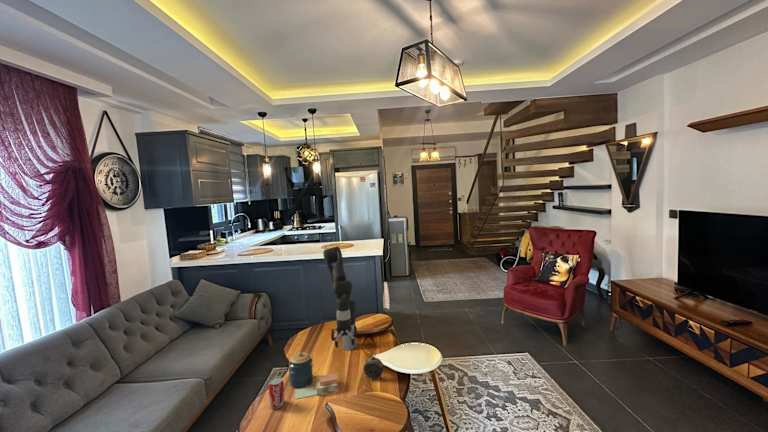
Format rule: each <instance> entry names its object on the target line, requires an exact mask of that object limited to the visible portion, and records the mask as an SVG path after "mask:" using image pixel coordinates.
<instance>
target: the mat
mask: <svg viewBox="0 0 768 432" xmlns="http://www.w3.org/2000/svg"><path fill="white" fill-rule="evenodd" d="M294 396H295V400H299V399H305V398H309V397H313V396H317V391H316V385H313V386H306V387H302V388H296V389H294Z"/></svg>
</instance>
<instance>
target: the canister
mask: <svg viewBox="0 0 768 432" xmlns="http://www.w3.org/2000/svg"><path fill="white" fill-rule="evenodd" d="M312 362H313V358H312V356H311V354H310V353H308V352H305V351H302V350H301V351H298V352H296V353H294V354H293V355H292V356H291V357H290V358H289V361H288V366H289V368H288V372H289V374H288V375H289V384H290V385H289V386H291V387H292V388H294V389H295V388H296V389H302V388H307V387H309V385H311V383H312V382H313V380H314V375H313V363H312Z"/></svg>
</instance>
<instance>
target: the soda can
mask: <svg viewBox="0 0 768 432" xmlns="http://www.w3.org/2000/svg"><path fill="white" fill-rule="evenodd" d="M284 389H285V387H284V380H283V378H282V377H281V376H275V377H273V378H271V379H270V380H269V383H268V401H269V407H270V408H271V409H274V410H278V409H280V408H282V407H283V405H284V404H285V390H284Z"/></svg>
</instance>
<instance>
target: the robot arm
mask: <svg viewBox="0 0 768 432" xmlns="http://www.w3.org/2000/svg"><path fill="white" fill-rule="evenodd" d="M322 253H323V254H322V255H323V259H324V261H325V265H326V268H327V269H328V273H329V276H330V280H331V283H332V292H333V294H334V295H335V296H336V297H335V298H336V328H333V327H332V328H331V331H330V339H331V341H332V342H334V346H335V348H336V349H338V348H339V342H338V341H339V339H340V338H342V339H341V340H342V349H343V350H344V351H352V350H355V349H357V348H358V343H357V342H358V341H357V337H358V330H357V329H358V327H357V326H356V316H357V315H356V314H357V310H356V309H357V305H356V303H357V302H356V301H355V299H351V296H352V295H351V294H352V291H353V284H352V282H351V281H350V280H347V276H346V272H345V268H344V259H343V258H344V257H343V254H342V250H341V248H340V247H339V246H333V247H331V248H330V247H329V248H327V249H324V250H323V252H322ZM334 263H335V264H334ZM335 334H336V335H335Z"/></svg>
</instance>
